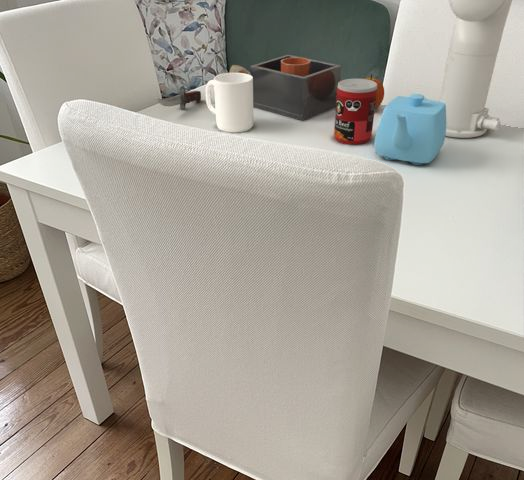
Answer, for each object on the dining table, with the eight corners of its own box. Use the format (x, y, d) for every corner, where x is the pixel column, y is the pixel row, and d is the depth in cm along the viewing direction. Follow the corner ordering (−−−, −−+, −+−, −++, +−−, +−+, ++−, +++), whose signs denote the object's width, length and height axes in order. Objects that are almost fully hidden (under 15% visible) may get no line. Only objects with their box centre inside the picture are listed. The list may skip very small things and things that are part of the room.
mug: (271, 98, 143) (253, 64, 135) (237, 116, 146) (218, 83, 138) (268, 82, 147) (250, 48, 140) (235, 99, 150) (216, 67, 143)
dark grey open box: (338, 105, 138) (341, 65, 132) (302, 120, 130) (304, 78, 124) (287, 92, 146) (288, 54, 140) (250, 106, 138) (250, 66, 132)
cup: (239, 135, 123) (237, 85, 116) (196, 125, 128) (192, 76, 121) (260, 124, 128) (260, 76, 121) (218, 114, 133) (216, 68, 127)
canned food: (327, 135, 123) (330, 80, 115) (359, 130, 125) (364, 76, 118) (344, 147, 117) (349, 91, 110) (378, 141, 120) (385, 86, 112)
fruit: (353, 104, 138) (356, 69, 133) (382, 105, 138) (386, 70, 132) (352, 113, 133) (355, 77, 128) (382, 115, 132) (386, 78, 127)
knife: (161, 122, 130) (159, 99, 126) (156, 121, 130) (154, 98, 127) (201, 101, 141) (200, 79, 138) (197, 100, 142) (195, 78, 138)
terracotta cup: (314, 101, 137) (316, 60, 132) (296, 108, 134) (297, 66, 128) (292, 95, 141) (293, 55, 135) (274, 102, 137) (274, 61, 131)
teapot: (359, 168, 109) (366, 106, 102) (389, 138, 121) (397, 80, 114) (423, 180, 105) (435, 117, 97) (447, 148, 117) (460, 89, 109)
